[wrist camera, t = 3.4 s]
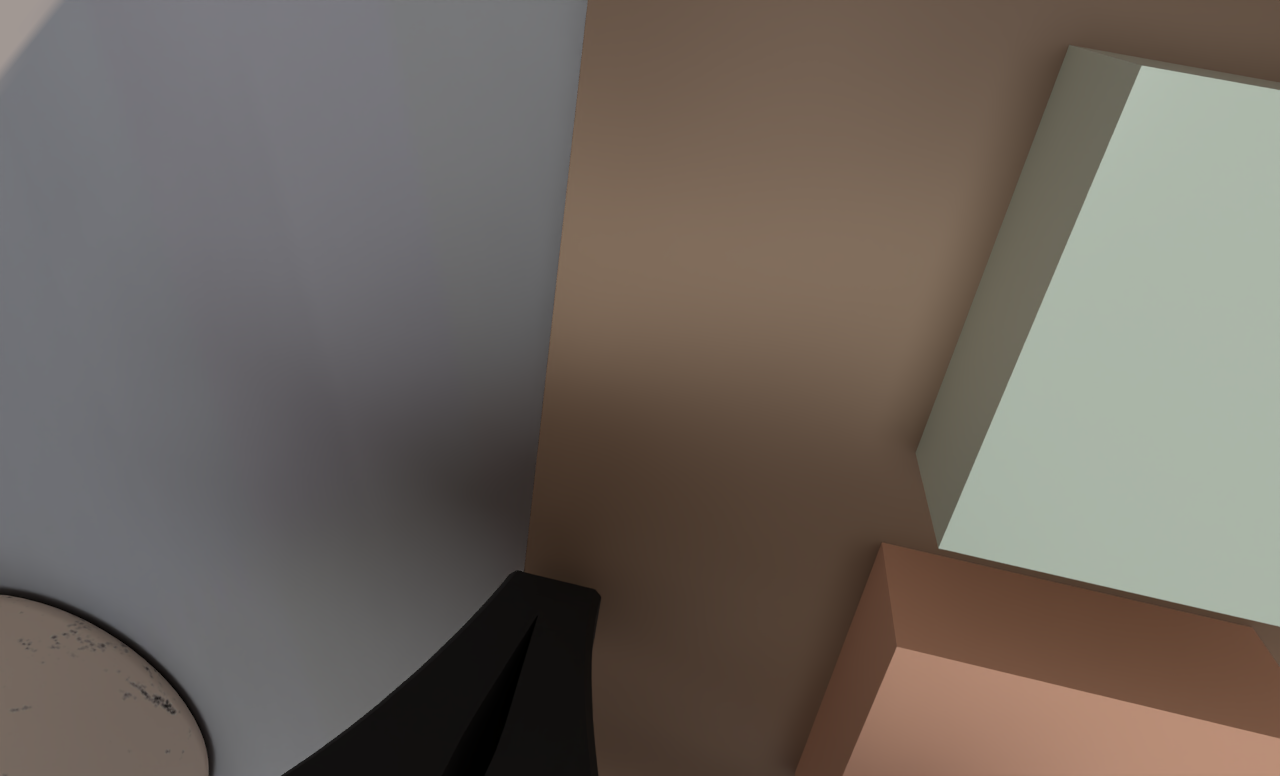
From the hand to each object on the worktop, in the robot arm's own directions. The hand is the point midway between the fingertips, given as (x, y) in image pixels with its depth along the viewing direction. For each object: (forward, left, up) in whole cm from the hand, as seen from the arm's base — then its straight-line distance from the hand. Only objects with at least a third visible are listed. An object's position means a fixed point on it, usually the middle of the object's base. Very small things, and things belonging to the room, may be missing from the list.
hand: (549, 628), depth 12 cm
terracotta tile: (0, -7, -1) cm, 7 cm away
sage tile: (+7, -7, -1) cm, 9 cm away
